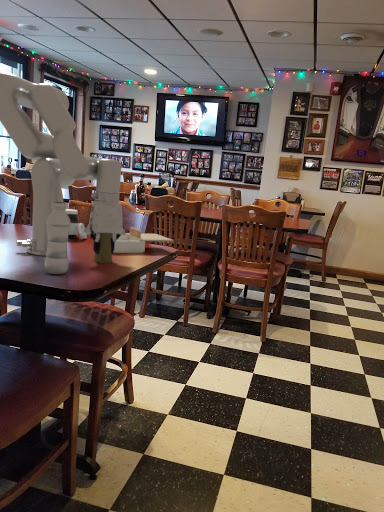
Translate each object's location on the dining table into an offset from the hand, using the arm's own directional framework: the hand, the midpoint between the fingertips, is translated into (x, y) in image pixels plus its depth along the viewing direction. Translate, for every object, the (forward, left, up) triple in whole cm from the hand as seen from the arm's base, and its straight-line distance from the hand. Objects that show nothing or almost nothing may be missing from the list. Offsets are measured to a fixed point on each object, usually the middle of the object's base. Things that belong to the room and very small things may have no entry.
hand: (103, 252), depth 133 cm
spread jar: (+3, +44, -3) cm, 44 cm away
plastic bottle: (-19, -14, -3) cm, 24 cm away
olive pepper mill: (0, 0, -3) cm, 3 cm away
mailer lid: (+26, +19, +2) cm, 32 cm away
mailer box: (+14, +19, -3) cm, 24 cm away
